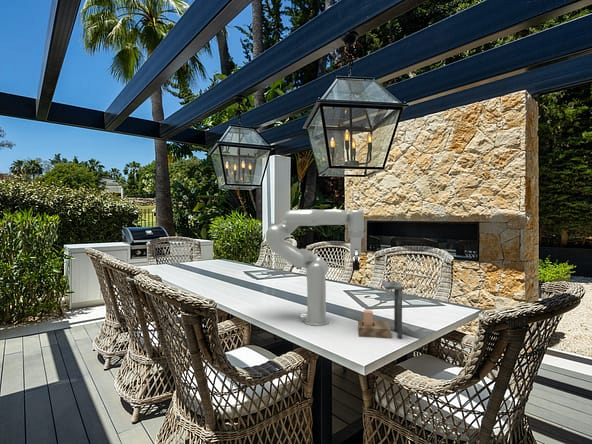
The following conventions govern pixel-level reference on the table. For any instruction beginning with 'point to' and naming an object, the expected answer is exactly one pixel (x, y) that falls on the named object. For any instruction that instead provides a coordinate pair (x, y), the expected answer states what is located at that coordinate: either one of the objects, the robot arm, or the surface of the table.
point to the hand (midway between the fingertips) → (355, 268)
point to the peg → (368, 318)
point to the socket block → (382, 327)
